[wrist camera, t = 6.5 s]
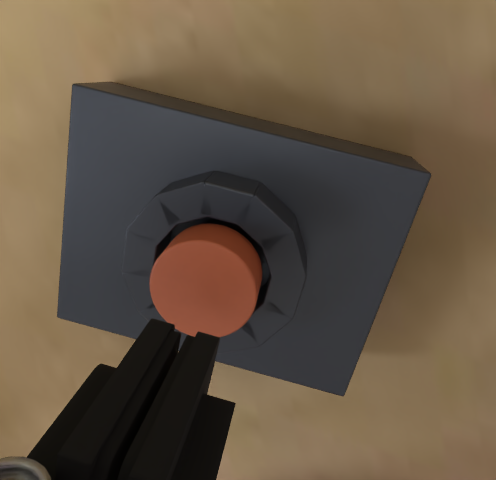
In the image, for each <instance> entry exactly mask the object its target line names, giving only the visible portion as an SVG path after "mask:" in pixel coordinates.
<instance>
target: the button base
mask: <svg viewBox="0 0 496 480" xmlns="http://www.w3.org/2000/svg"><path fill="white" fill-rule="evenodd" d="M430 177H431V173H430V172H428V171H427V170H426V169H425V168H424V167H422V166H421V165H420V164H419V163H418V162H417V161H415V160H414V159H413V158H412V157H410V156H406V155H402V154H398V153H394V152H390V151H386V150H382V149H378V148H374V147H370V146H366V145H362V144H358V143H354V142H350V141H346V140H342V139H338V138H334V137H330V136H326V135H322V134H318V133H314V132H310V131H306V130H302V129H298V128H294V127H290V126H286V125H282V124H278V123H274V122H270V121H266V120H262V119H258V118H254V117H250V116H246V115H242V114H238V113H234V112H230V111H226V110H222V109H218V108H214V107H210V106H206V105H202V104H198V103H194V102H190V101H186V100H182V99H178V98H174V97H170V96H166V95H162V94H158V93H154V92H150V91H146V90H142V89H138V88H134V87H130V86H126V85H122V84H118V83H114V82H98V83H76V84H73V85H72V97H71V112H70V128H69V143H68V158H67V174H66V189H65V204H64V219H63V235H62V250H61V265H60V281H59V296H58V311H57V317H58V318H61V319H65V320H69V321H72V322H76V323H79V324H83V325H87V326H90V327H94V328H97V329H101V330H105V331H108V332H112V333H116V334H119V335H123V336H126V337H130V338H134V339H137V338H138V337H139V335H140V334H141V332H142V331H143V329H144V328H145V326H146V325H147V324H148V322H149V321H150V320H151V319H152V318H153V319H157V320H160V321H164V322H167V321H165V320H164V318H163V317H162V316H161V315H160V314H159V312H158V311H157V309H156V307H155V305H154V303H153V300H152V298H151V293H150V285H149V281H150V274H151V270H152V268H153V265H154V263H155V262H156V260H157V258H158V257H159V256H160V255H161V253H162V252H163V251H164V250H165V249H166V247H167V246H168V245H169V244H170V243H171V241H172V240H173V239H174V238H175V237H176V236H177V235H178V234H179V233H180V232H182V231H183V230H185V229H187V228H189V227H191V226H194V225H199V224H207V223H211V224H219V225H224V226H227V227H229V228H232V229H234V230H236V231H237V232H239V233H240V234H242V235H243V236H244V237H245V238H247V239H248V240H249V242H250V243H251V244H252V245H253V247H254V248H255V250H256V251H257V253H258V255H259V258H260V261H261V265H262V281H261V286H260V290H259V294H258V298H257V302H256V306H255V309H254V312H253V314H252V315H251V317H250V318H249V320H248V321H247V322H246V323H245V324H244V325H243V326H242V327H241V328H240V329H238V330H237V331H235V332H233V333H231V334H229V335H226V336H223V337H220V342H219V346H218V350H217V355H216V359H215V361H217V362H220V363H224V364H228V365H231V366H235V367H238V368H242V369H246V370H249V371H253V372H257V373H260V374H264V375H267V376H271V377H275V378H278V379H282V380H285V381H289V382H293V383H296V384H300V385H304V386H307V387H311V388H314V389H318V390H322V391H325V392H329V393H333V394H336V395H340V396H344V395H345V392H346V390H347V387H348V385H349V382H350V380H351V377H352V375H353V372H354V370H355V367H356V364H357V362H358V359H359V357H360V354H361V352H362V349H363V347H364V344H365V342H366V339H367V337H368V334H369V332H370V329H371V327H372V324H373V321H374V319H375V316H376V314H377V311H378V309H379V306H380V304H381V301H382V299H383V296H384V294H385V291H386V289H387V286H388V284H389V281H390V278H391V276H392V273H393V271H394V268H395V266H396V263H397V261H398V258H399V256H400V253H401V251H402V248H403V246H404V243H405V241H406V238H407V235H408V233H409V230H410V228H411V225H412V223H413V220H414V218H415V215H416V213H417V210H418V208H419V205H420V203H421V200H422V198H423V195H424V192H425V190H426V187H427V185H428V182H429V180H430ZM167 323H168V322H167ZM174 331H176V332H180V333H181V339H180V344H179V349H178V351H179V350H180V348H181V346H182V344H183V342H184V340H185V338H186V336H187V334H185V333H183V332H181V331H179V330H177V329H174Z"/></svg>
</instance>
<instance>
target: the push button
mask: <svg viewBox="0 0 496 480" xmlns="http://www.w3.org/2000/svg"><path fill="white" fill-rule="evenodd" d="M261 281H262V265H261V261H260V258H259V255H258V253H257V251H256V250H255V248H254V247H253V245H252V244H251V243H250V242H249V240H248V239H247V238H245V237H244V236H243V235H242V234H240V233H239V232H237V231H236V230H234V229H232V228H229V227H227V226H224V225H219V224H211V223H207V224H199V225H194V226H191V227H189V228H187V229H185V230H183V231H182V232H180V233H179V234H178V235H177V236H176V237H175V238H174V239H173V240H172V241H171V243H170V244H169V245H168V246H167V247H166V249H165V250H164V251H163V252H162V253H161V255H160V256H159V257H158V258H157V260H156V262H155V263H154V265H153V268H152V270H151V274H150V281H149V285H150V293H151V298H152V300H153V303H154V305H155V307H156V309H157V311H158V312H159V314H160V315H161V316H162V317H163V318H164V320H165V321H167V322H168V323H171V324H174V325H175V329H177V330H179V331H181V332H183V333H185V334H187V335H190V336H194V337H195V336H196V334H197V332H198V331H199V332H203V333H206V334H210V335H213V336H217V337H223V336H226V335H229V334H231V333H233V332H235V331H237V330H238V329H240V328H241V327H242V326H243V325H244V324H245V323H246V322H247V321H248V320H249V318H250V317H251V315H252V314H253V312H254V309H255V306H256V302H257V298H258V294H259V290H260V286H261Z"/></svg>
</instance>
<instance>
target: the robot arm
mask: <svg viewBox="0 0 496 480" xmlns="http://www.w3.org/2000/svg"><path fill="white" fill-rule="evenodd" d="M174 329H175V325H174V324H171V323H167V322H164V321H160V320H157V319H153V318H152V319H151V320H150V321H149V322H148V324H147V325H146V326H145V328H144V329H143V331H142V332H141V334H140V335H139V337H138V338H137V339H136V341H135V342H134V344H133V345H132V347H131V348H130V350H129V351H128V353H127V354H126V355H125V357H124V358H123V360H122V361H121V363H120V364H119V366H118V367H117V368H114V367H111V366H108V365H104V364H100V365H98V366H97V367H96V368H95V369H94V370H93V371H92V373H91V374H90V375H89V377H88V378H87V379H86V381H85V382H84V383H83V384H82V386H81V387H80V388H79V390H78V391H77V392H76V394H75V395H74V396H73V398H72V399H71V400H70V401H69V403H68V404H67V405H66V407H65V408H64V409H63V411H62V412H61V413H60V415H59V416H58V417H57V418H56V420H55V421H54V422H53V424H52V425H51V426H50V428H49V429H48V430H47V431H46V433H45V434H44V435H43V437H42V438H41V439H40V441H39V442H38V443H37V445H36V446H35V447H34V448H33V450H32V451H31V452H30V454H29V455H28V456H27V458H26V457H5V458H1V459H0V480H216V478H217V474H218V470H219V466H220V462H221V458H222V454H223V450H224V446H225V443H226V439H227V435H228V431H229V427H230V423H231V419H232V415H233V411H234V407H235V403H234V402H230V401H227V400H223V399H220V398H217V397H213V396H210V395H207V392H208V388H209V384H210V380H211V375H212V371H213V367H214V363H215V359H216V355H217V350H218V346H219V342H220V337H217V336H213V335H210V334H206V333H203V332H199V331H198V332H197V334H196V336H195V337H194V336H190V335H187V336H186V338H185V340H184V342H183V344H182V346H181V348H180V350H179V352H178V349H179V344H180V339H181V333H180V332H176V331H174Z"/></svg>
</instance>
